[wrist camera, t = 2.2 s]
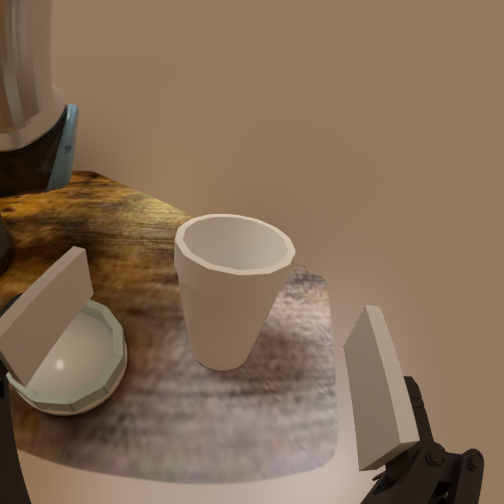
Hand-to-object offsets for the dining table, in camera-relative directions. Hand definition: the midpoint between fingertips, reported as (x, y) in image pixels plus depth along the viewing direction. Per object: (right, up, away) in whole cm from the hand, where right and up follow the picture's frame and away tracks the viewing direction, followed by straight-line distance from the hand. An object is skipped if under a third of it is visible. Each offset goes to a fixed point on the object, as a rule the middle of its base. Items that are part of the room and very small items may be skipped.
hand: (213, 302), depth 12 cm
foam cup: (-2, -8, +17) cm, 19 cm away
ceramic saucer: (-18, -8, +10) cm, 22 cm away
